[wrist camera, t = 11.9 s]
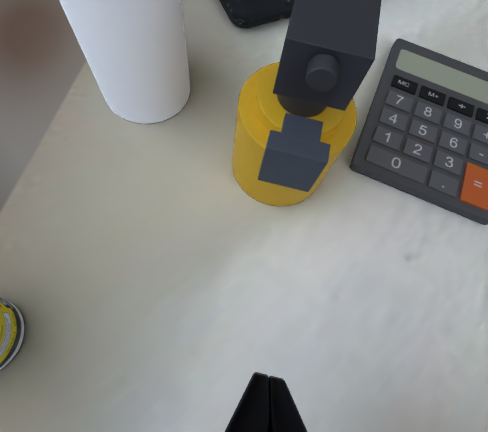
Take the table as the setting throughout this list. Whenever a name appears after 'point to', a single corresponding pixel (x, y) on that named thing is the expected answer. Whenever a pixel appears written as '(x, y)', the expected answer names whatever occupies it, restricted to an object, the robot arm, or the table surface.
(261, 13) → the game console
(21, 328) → the supplement bottle
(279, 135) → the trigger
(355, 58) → the spray bottle
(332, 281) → the table surface
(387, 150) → the calculator
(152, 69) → the cylindrical container
